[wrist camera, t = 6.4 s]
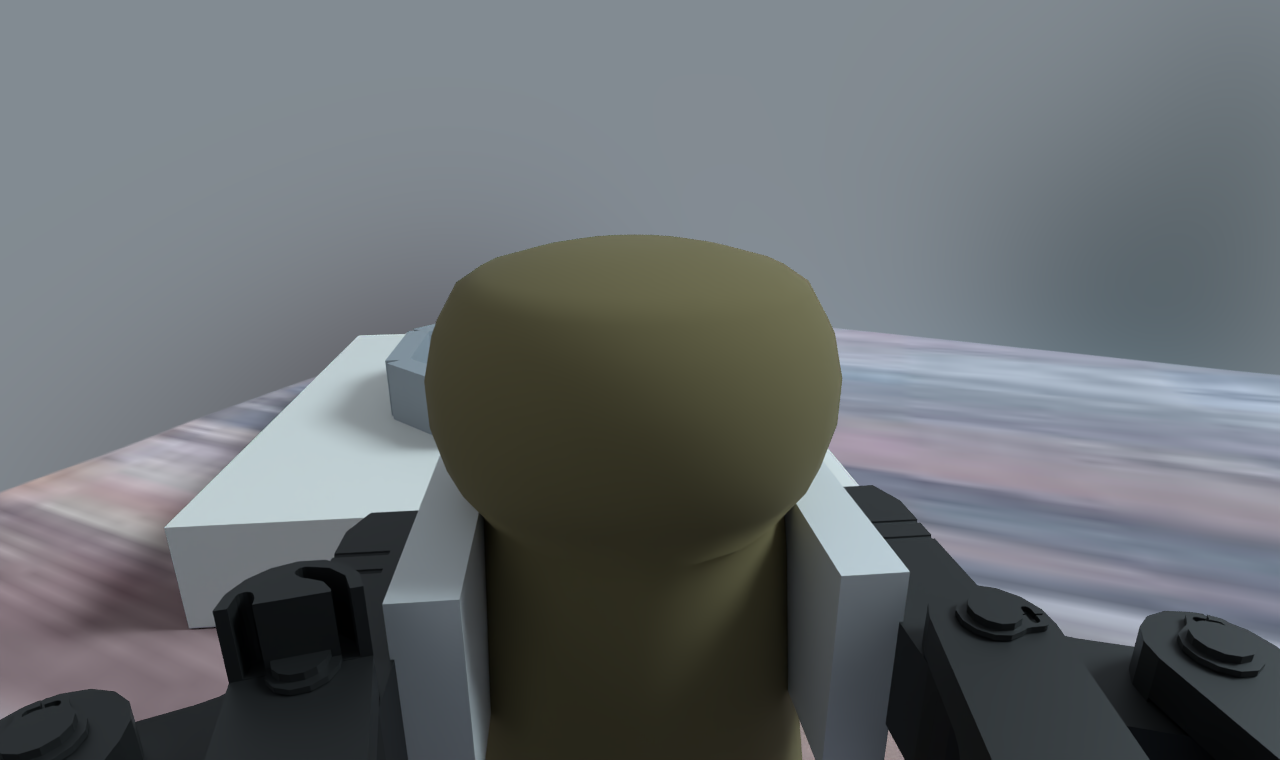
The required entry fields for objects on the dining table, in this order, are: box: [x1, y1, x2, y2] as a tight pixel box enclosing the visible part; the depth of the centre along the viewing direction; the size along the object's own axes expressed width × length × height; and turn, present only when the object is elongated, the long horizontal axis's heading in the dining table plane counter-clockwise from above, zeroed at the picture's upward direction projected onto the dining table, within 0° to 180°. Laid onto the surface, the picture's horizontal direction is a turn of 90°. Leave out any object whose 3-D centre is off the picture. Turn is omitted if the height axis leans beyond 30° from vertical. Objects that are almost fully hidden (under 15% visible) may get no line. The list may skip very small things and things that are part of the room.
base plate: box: [164, 324, 859, 628], centre depth 27 cm, size 18×18×5 cm
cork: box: [424, 235, 842, 760], centre depth 11 cm, size 6×6×11 cm
